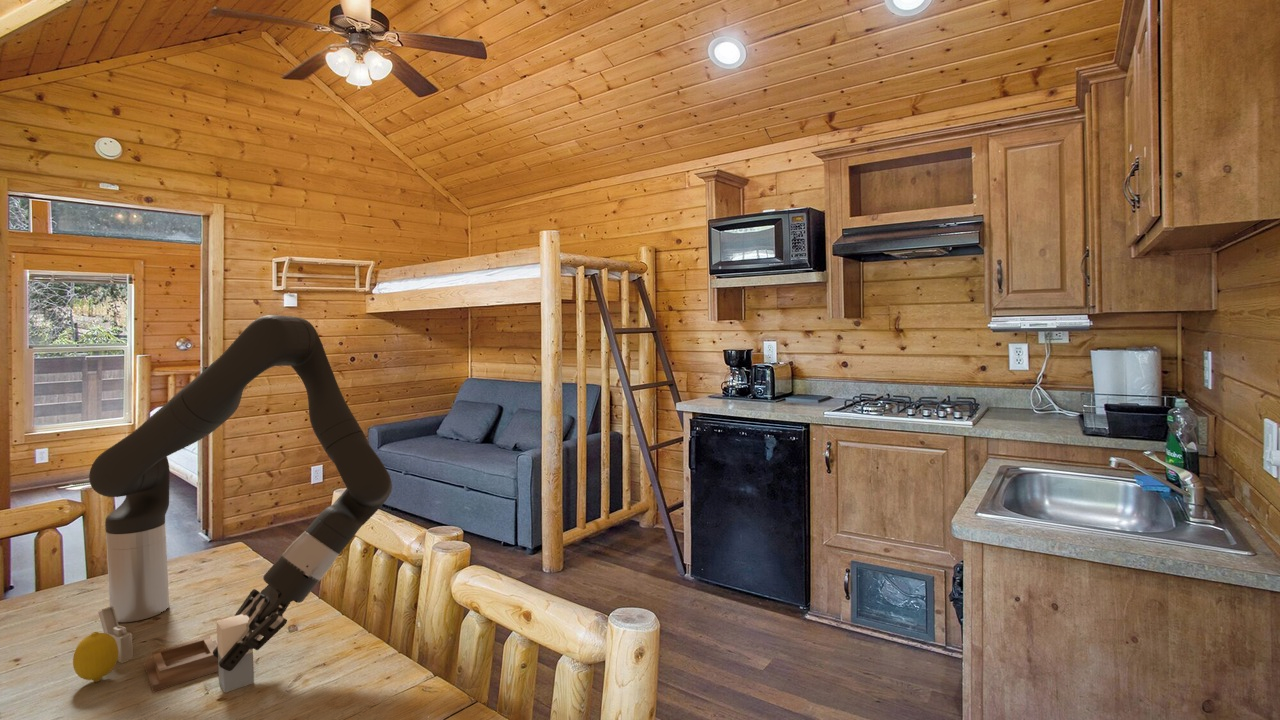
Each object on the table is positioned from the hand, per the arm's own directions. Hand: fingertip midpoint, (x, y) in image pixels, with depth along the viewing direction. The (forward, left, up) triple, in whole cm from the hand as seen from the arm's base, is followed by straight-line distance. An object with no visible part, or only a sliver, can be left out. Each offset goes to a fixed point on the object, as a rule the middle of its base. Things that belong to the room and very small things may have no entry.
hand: (221, 662), depth 100 cm
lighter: (-24, -11, -4) cm, 27 cm away
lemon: (-16, -14, -4) cm, 22 cm away
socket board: (-11, -3, -4) cm, 12 cm away
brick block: (0, +2, -4) cm, 5 cm away
